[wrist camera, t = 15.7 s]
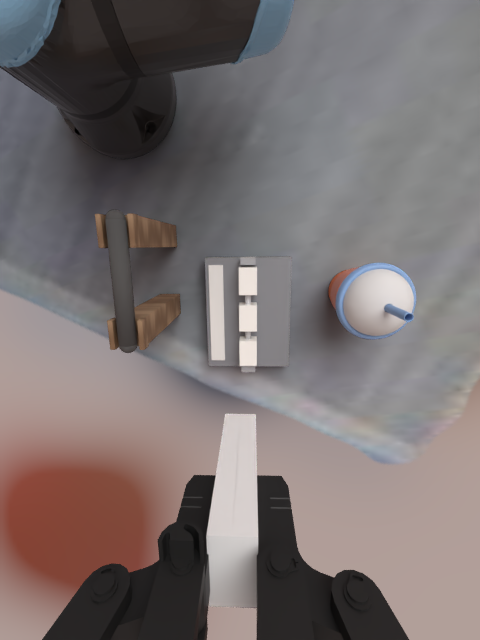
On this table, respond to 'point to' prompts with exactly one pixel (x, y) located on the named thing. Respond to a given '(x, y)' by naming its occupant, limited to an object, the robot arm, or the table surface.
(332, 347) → the table surface
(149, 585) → the robot arm
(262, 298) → the breaker panel
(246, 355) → the breaker paddles
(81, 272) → the table surface
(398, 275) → the cup with straw
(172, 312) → the posts
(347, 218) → the table surface
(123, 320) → the dark grey rod
